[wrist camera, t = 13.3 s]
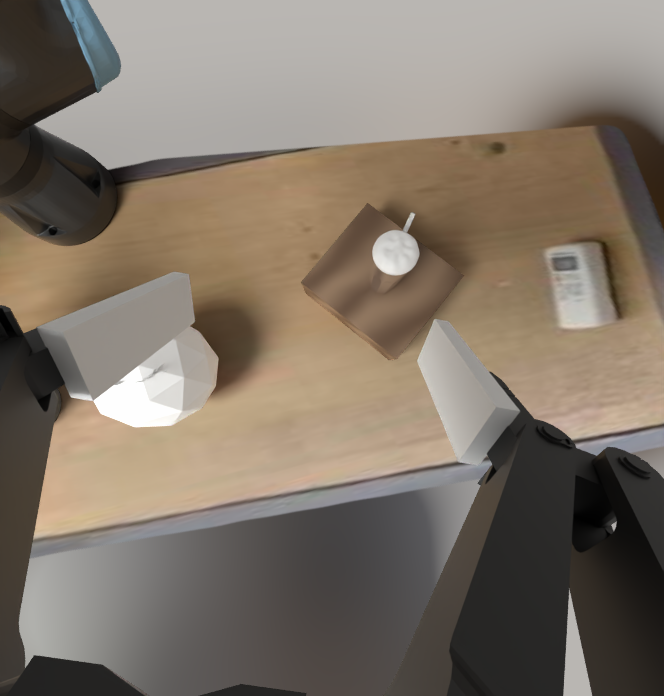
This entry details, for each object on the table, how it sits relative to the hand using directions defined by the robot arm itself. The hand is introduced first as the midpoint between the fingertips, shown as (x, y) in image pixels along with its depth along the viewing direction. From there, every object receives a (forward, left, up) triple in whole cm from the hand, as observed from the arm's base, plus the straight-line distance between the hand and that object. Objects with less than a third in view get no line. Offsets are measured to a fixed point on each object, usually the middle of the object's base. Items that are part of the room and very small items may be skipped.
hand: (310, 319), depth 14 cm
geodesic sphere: (-14, -15, -24) cm, 32 cm away
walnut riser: (0, +12, -24) cm, 26 cm away
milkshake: (0, +12, -19) cm, 22 cm away
